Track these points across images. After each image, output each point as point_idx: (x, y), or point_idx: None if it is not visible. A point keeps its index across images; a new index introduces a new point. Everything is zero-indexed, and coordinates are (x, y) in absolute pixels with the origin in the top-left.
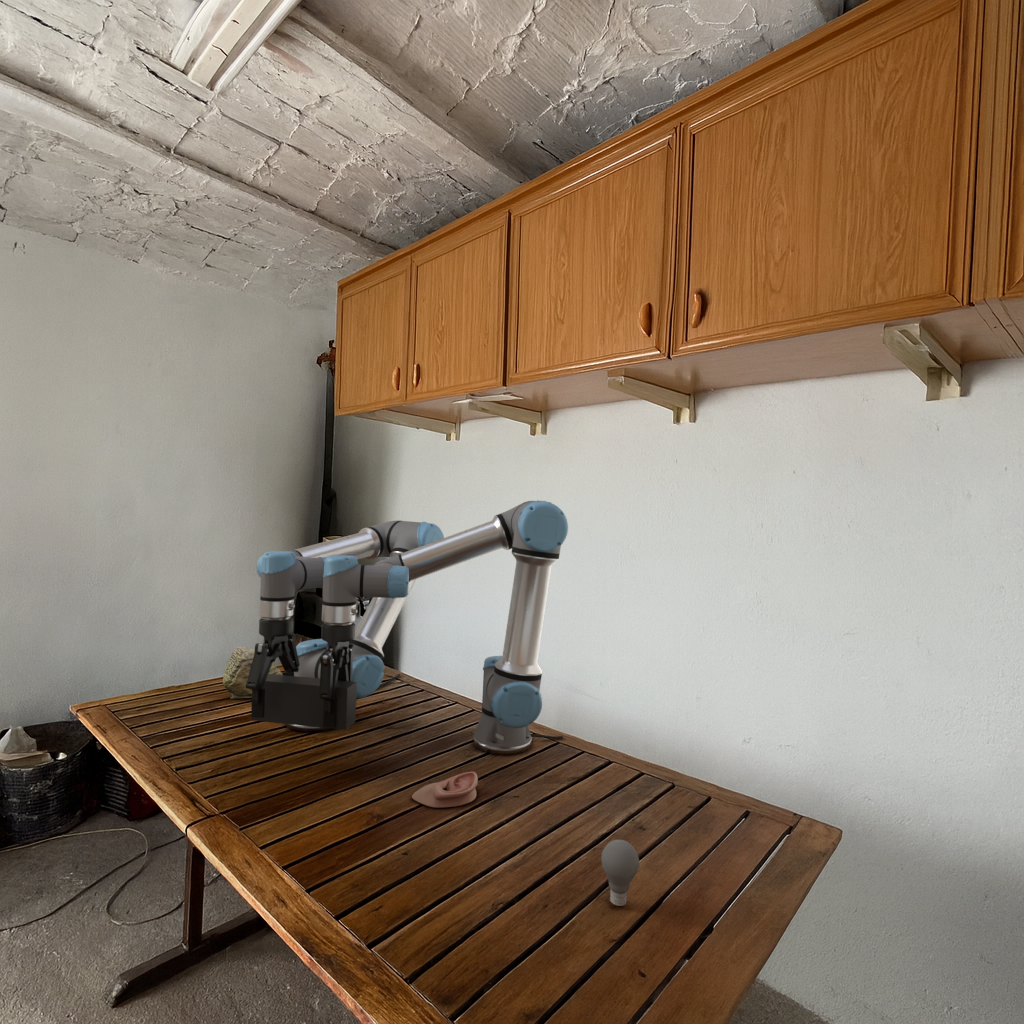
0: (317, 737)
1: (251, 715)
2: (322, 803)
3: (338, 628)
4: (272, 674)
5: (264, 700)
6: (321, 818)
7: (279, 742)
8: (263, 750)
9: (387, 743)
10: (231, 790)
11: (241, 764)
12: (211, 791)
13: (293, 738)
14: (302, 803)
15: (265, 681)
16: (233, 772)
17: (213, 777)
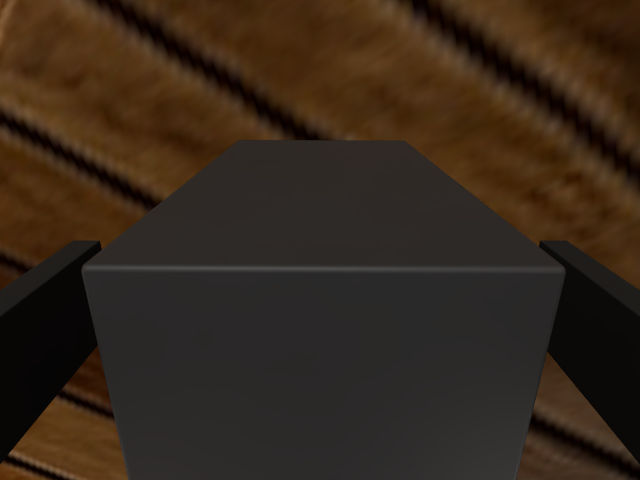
0: (602, 230)
1: (65, 248)
2: (118, 438)
3: None
4: (516, 410)
5: (35, 414)
6: (50, 462)
7: (535, 100)
8: (435, 78)
9: (554, 456)
10: (67, 166)
11: (274, 68)
12: (27, 99)
13: (587, 138)
14: (95, 398)
15: (132, 464)
16: (196, 81)
17: (125, 26)
